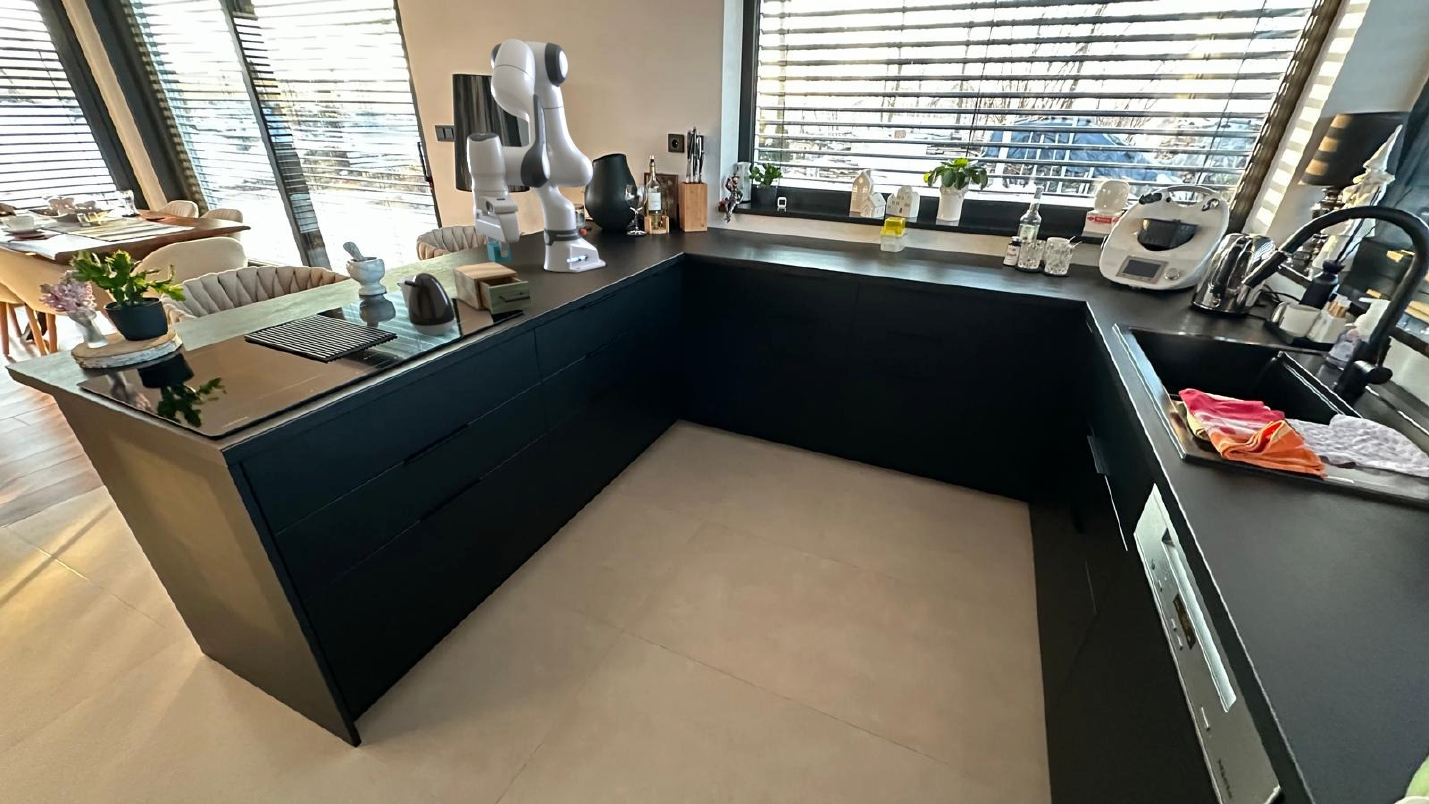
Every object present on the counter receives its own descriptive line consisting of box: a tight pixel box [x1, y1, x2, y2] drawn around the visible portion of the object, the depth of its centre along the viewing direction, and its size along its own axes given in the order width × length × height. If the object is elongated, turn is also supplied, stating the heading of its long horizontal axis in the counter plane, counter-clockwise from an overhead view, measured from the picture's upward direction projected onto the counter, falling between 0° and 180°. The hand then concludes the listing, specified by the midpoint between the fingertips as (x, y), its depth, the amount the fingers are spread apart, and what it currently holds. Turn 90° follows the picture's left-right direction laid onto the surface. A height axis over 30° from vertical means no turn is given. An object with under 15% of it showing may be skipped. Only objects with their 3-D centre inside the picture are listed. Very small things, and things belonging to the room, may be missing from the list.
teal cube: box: [486, 242, 512, 264], centre depth 151 cm, size 4×4×4 cm
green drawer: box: [477, 276, 533, 315], centre depth 157 cm, size 19×11×7 cm, turn 43°
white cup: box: [398, 275, 416, 314], centre depth 149 cm, size 8×8×10 cm
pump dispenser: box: [404, 272, 456, 337], centre depth 137 cm, size 10×10×15 cm
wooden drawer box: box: [452, 261, 519, 311], centre depth 165 cm, size 16×13×9 cm
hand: (499, 254), depth 152 cm, fingers closed on teal cube, 4 cm apart
